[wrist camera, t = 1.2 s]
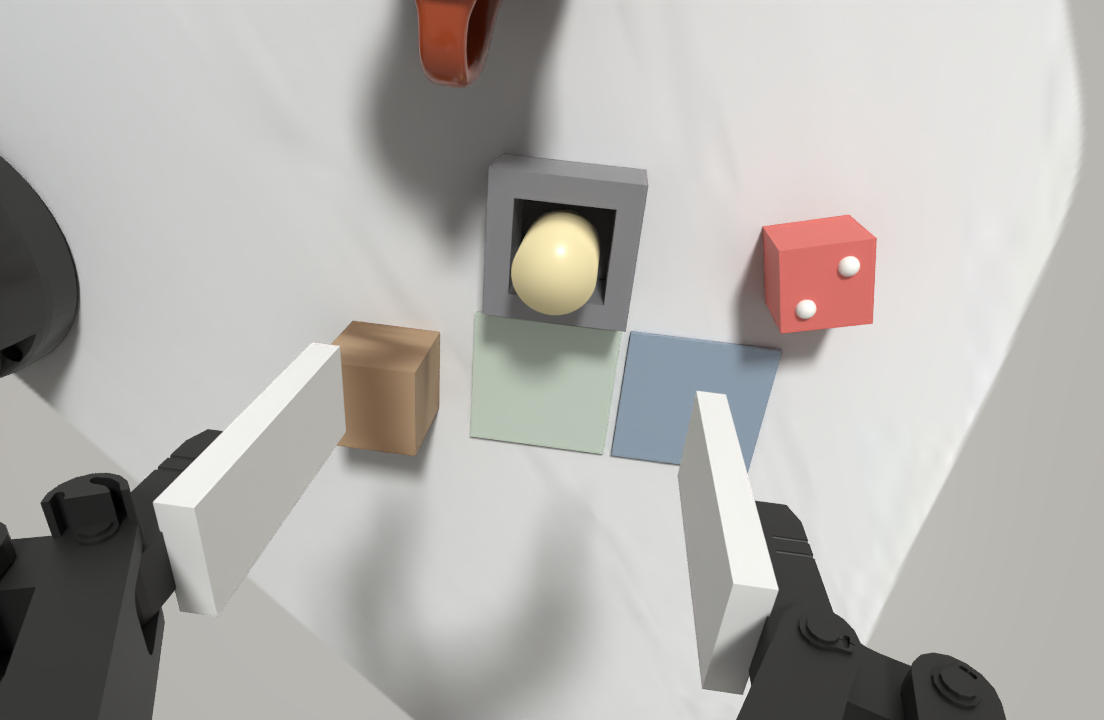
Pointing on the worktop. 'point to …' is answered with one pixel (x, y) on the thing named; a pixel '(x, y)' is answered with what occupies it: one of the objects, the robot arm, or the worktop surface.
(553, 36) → the worktop surface
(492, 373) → the tile
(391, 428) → the tan wooden cuboid
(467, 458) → the worktop surface
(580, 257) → the button
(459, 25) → the mug
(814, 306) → the die
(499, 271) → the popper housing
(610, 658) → the worktop surface
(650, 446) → the tile
